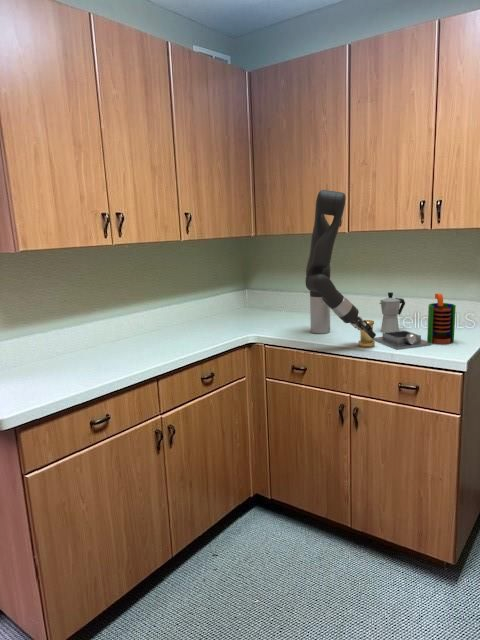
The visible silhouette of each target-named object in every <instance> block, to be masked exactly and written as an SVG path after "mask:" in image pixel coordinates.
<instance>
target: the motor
mask: <svg viewBox="0 0 480 640" xmlns="http://www.w3.org/2000/svg"><path fill="white" fill-rule="evenodd" d="M434 299H436V300H437V302H433V303H432V302H431V303H429V304H428V314H427V336H426V337H427V338H426V339H427V340H426V341H428V342H431V343H432V345H433V344H434V345H440V346H441V345H443V346H445V345H450V344H451V343H452V344H454V343H455V325H456V324H455V323H456V309H457V308H456V305H455V304H454V303H449V302H447V303H446V302H444V296H443V293H440V292H439V293H434Z"/></svg>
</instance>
